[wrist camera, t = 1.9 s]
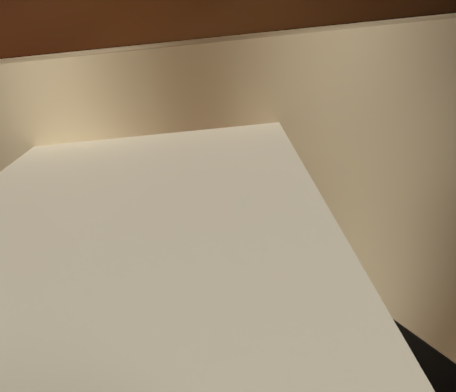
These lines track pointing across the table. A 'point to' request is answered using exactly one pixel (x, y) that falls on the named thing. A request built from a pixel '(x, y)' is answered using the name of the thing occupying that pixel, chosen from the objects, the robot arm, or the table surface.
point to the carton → (185, 273)
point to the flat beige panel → (291, 130)
